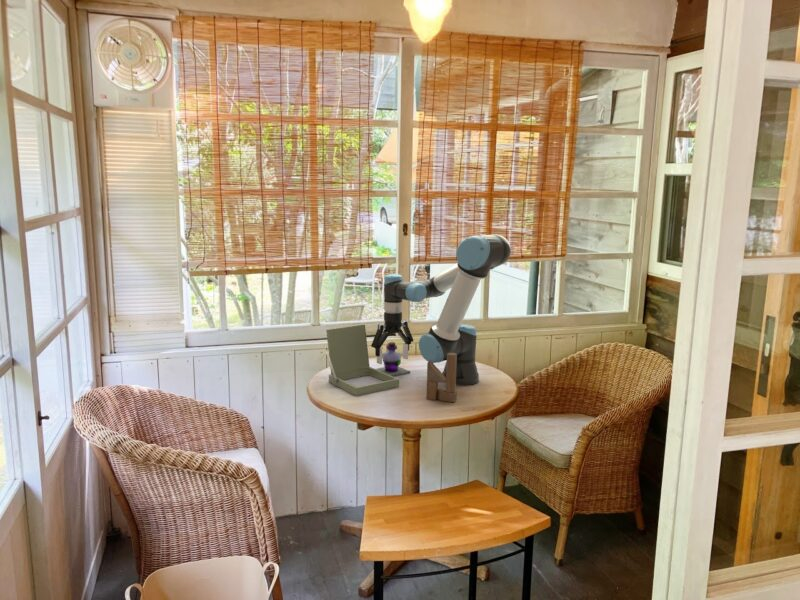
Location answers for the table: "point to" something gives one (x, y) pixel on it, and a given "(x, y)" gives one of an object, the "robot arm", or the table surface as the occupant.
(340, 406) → the table surface
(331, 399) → the table surface
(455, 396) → the wooden block
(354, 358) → the case
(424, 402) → the table surface
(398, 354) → the potion bottle
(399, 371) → the pad
